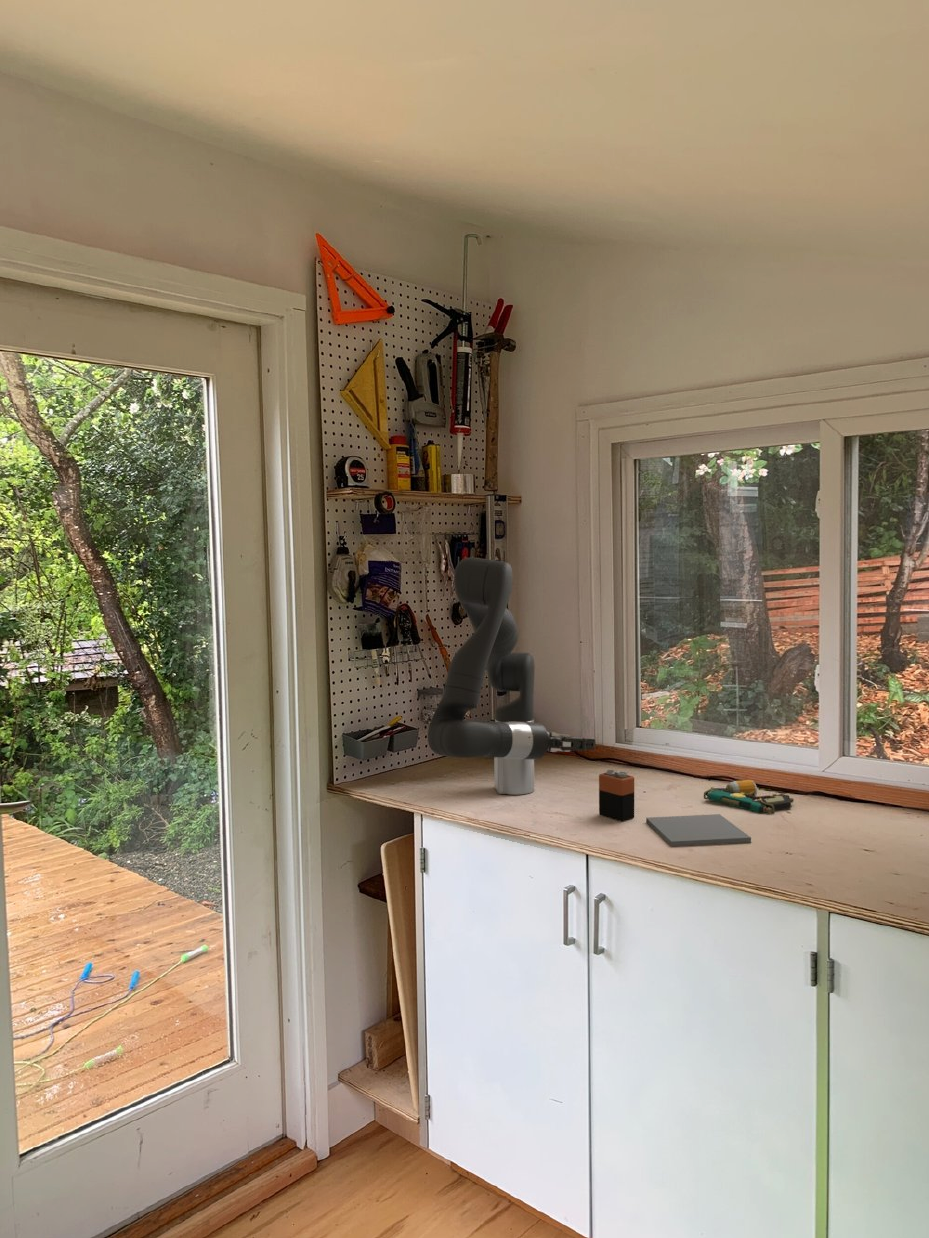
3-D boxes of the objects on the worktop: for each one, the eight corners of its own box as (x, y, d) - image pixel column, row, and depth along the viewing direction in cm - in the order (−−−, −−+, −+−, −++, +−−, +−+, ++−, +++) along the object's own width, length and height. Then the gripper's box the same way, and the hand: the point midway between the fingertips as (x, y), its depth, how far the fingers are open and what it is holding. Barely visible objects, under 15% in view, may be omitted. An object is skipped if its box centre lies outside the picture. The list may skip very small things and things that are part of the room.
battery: (621, 822, 193) (621, 775, 193) (598, 815, 199) (597, 769, 198) (635, 818, 196) (635, 772, 195) (611, 811, 201) (611, 766, 201)
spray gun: (801, 812, 202) (752, 825, 195) (745, 791, 217) (697, 802, 210) (802, 793, 201) (752, 806, 194) (746, 773, 216) (697, 784, 209)
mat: (671, 846, 177) (671, 841, 177) (646, 822, 193) (646, 817, 193) (751, 842, 179) (751, 837, 179) (719, 818, 195) (719, 814, 195)
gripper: (543, 724, 179) (604, 727, 188) (500, 719, 191) (559, 722, 200) (541, 762, 178) (602, 763, 187) (497, 755, 190) (557, 756, 199)
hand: (580, 742), depth 194 cm, fingers open, 8 cm apart
